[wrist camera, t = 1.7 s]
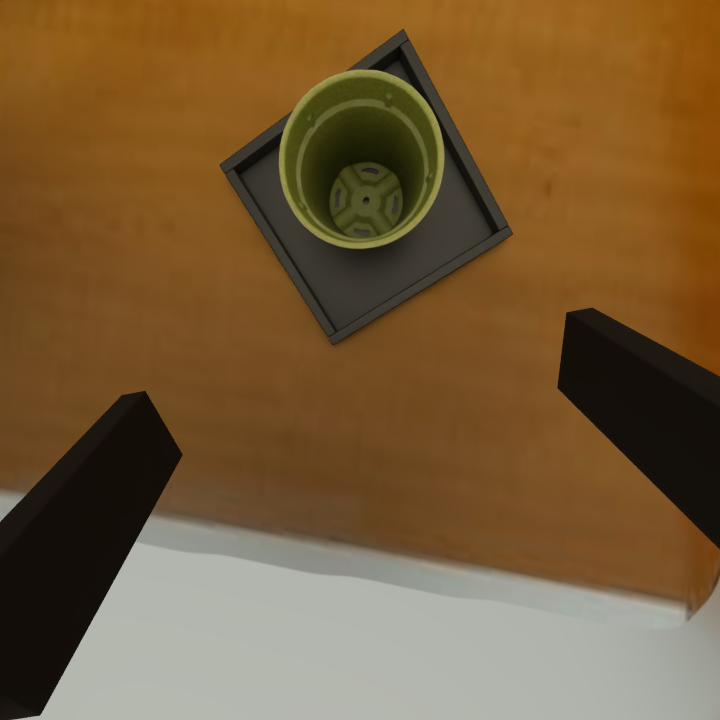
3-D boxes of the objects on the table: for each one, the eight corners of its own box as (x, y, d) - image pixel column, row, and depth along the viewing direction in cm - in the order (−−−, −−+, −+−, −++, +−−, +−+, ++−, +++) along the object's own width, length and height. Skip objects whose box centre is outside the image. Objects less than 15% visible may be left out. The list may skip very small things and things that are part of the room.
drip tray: (227, 172, 28) (218, 164, 27) (402, 44, 26) (403, 27, 25) (335, 343, 30) (332, 345, 29) (506, 237, 28) (513, 234, 27)
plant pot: (416, 269, 29) (431, 256, 20) (304, 257, 29) (273, 239, 21) (432, 146, 27) (456, 76, 19) (313, 135, 27) (284, 61, 19)
